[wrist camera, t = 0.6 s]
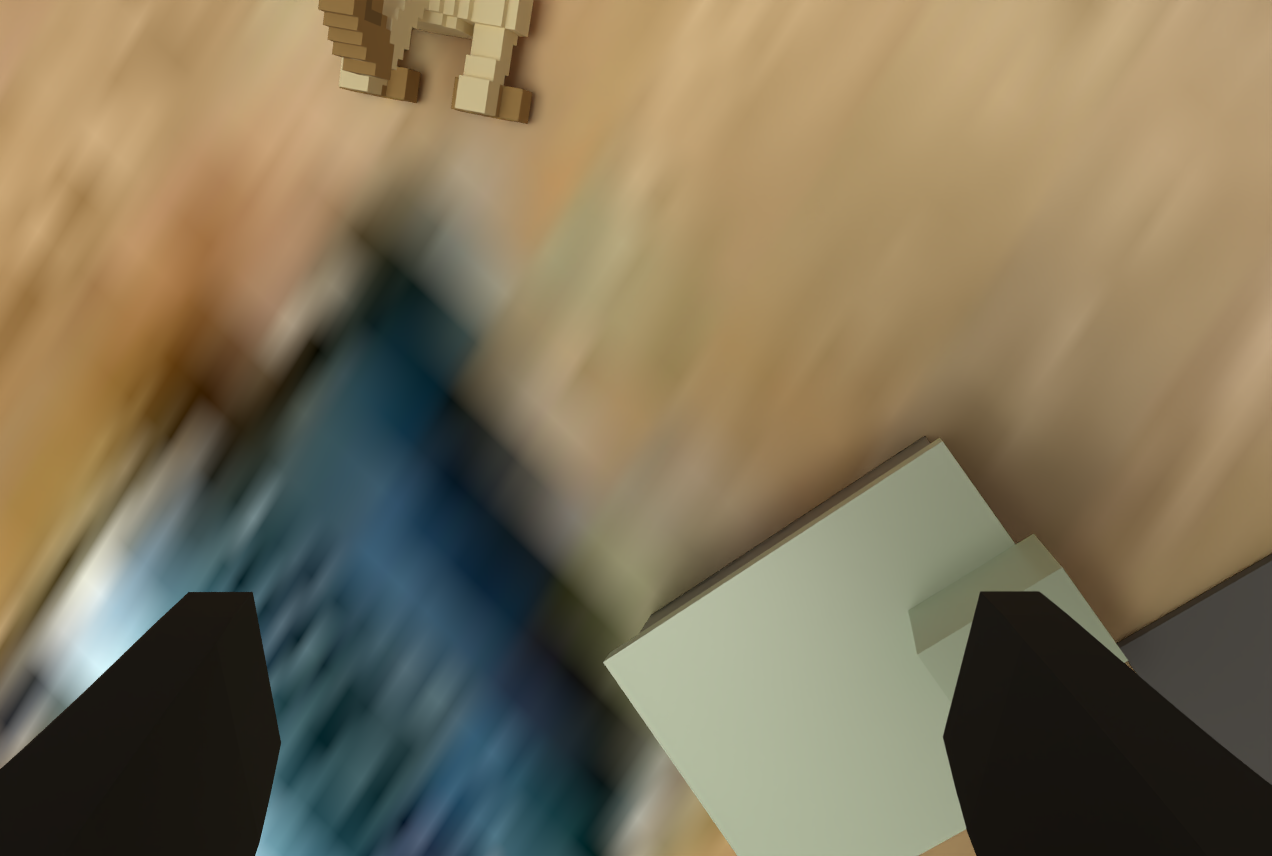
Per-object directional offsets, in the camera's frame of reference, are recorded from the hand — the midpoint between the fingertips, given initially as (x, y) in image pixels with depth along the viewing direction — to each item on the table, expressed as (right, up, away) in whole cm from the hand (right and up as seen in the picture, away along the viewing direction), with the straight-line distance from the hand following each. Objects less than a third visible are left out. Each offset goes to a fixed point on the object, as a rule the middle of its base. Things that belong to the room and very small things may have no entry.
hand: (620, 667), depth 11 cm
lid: (+6, -4, +17) cm, 19 cm away
